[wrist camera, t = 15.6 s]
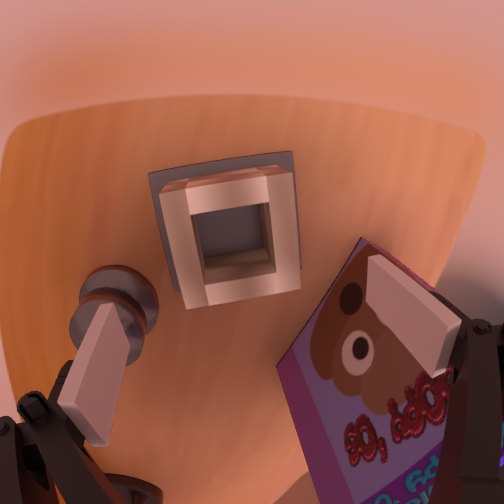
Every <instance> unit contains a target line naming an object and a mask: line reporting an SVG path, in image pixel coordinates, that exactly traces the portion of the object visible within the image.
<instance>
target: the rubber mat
mask: <svg viewBox="0 0 504 504" xmlns="http://www.w3.org/2000/svg"><path fill="white" fill-rule="evenodd" d="M270 165H278V166H280V167H282V168H284V169H286V170H288V171H290V172H292V176H293V187H294V198H295V209H296V222H297V235H298V249H299V264H300V270H302V268H301V251H300V236H299V222H298V209H297V197H296V185H295V174H294V164H293V154H292V151H285V152H276V153H267V154H259V155H251V156H244V157H237V158H230V159H223V160H217V161H211V162H205V163H199V164H193V165H188V166H182V167H177V168H172V169H166V170H161V171H157V172H152V173H149V174H148V176H149V182H150V187H151V192H152V197H153V202H154V206H155V211H156V216H157V220H158V225H159V229H160V234H161V238H162V242H163V247H164V251H165V255H166V259H167V263H168V267H169V271H170V275H171V279H172V282H173V286H174V290H175V292H178V291H181V288H180V284H179V281H178V277H177V273H176V269H175V265H174V261H173V256H172V252H171V248H170V244H169V239H168V235H167V230H166V226H165V221H164V217H163V212H162V207H161V202H160V197H159V193H160V192H161V190H162V189H163V188H164V186H165V185H166V184H167V182H171V181H176V180H181V179H186V178H192V177H197V176H203V175H209V174H215V173H221V172H227V171H234V170H241V169H248V168H255V167H262V166H270ZM196 220H197V225H198V230H199V235H200V240H201V246H202V251H203V256H204V258H210V257H216V256H221V255H227V254H233V253H239V252H245V251H250V250H256V249H262V248H264V241H263V233H262V224H261V216H260V208H259V204H252V205H246V206H240V207H234V208H228V209H222V210H216V211H210V212H204V213H198V214H196Z"/></svg>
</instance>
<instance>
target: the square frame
mask: <svg viewBox="0 0 504 504" xmlns="http://www.w3.org/2000/svg"><path fill="white" fill-rule="evenodd" d="M159 197H160V202H161V207H162V212H163V217H164V221H165V226H166V230H167V235H168V239H169V244H170V248H171V252H172V256H173V261H174V265H175V269H176V273H177V277H178V281H179V284H180V288H181V292H182V296H183V300H184V303H185V307H186V309H192V308H199V307H205V306H211V305H217V304H223V303H228V302H234V301H240V300H245V299H251V298H256V297H262V296H267V295H272V294H277V293H283V292H288V291H293V290H298V289H301V280H300V264H299V249H298V235H297V222H296V209H295V198H294V187H293V176H292V172H290V171H288V170H286V169H284V168H282V167H280V166H278V165H270V166H262V167H255V168H248V169H241V170H234V171H227V172H221V173H215V174H209V175H203V176H197V177H192V178H186V179H181V180H176V181H171V182H167V184H166V185H165V186H164V188H163V189H162V190H161V192H160V193H159ZM252 204H259V208H260V216H261V224H262V233H263V241H264V248H262V249H256V250H250V251H245V252H239V253H233V254H227V255H221V256H216V257H210V258H204V256H203V251H202V246H201V240H200V235H199V230H198V225H197V220H196V214H198V213H204V212H210V211H216V210H222V209H228V208H234V207H240V206H246V205H252Z"/></svg>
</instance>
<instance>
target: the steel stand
mask: <svg viewBox="0 0 504 504" xmlns="http://www.w3.org/2000/svg"><path fill="white" fill-rule="evenodd" d="M107 303H114V306H115V309H116V311H117V314H118V316H119V319H120V322H121V324H122V327H123V329H124V332H125V334H126V336H127V339H128V341H129V344H130V349H129V353H128V357H127V361H126V365H125V366H128V365H130V364H132V363H134V362H135V361H136V360H137V359H138V358H139V356H140V354H141V351H142V347H143V342H144V338H145V335H147V334H148V333H149V332H150V331H151V329H152V328H153V326H154V324H155V322H156V318H157V313H158V299H157V295H156V293H155V291H154V289H153V287H152V286H151V284H150V283H149V282H148V281H147V279H146V278H144V277H143V276H142V275H141V274H139V273H138V272H136V271H134V270H132V269H130V268H127V267H124V266H118V265H109V266H104V267H101V268H99V269H97V270H95V271H94V272H93V273H91V274H90V276H89V277H88V278H87V280H86V281H85V283H84V284H83V286H82V288H81V290H80V295H79V306H78V308H77V309H76V311H75V313H74V315H73V316H72V318H71V321H70V325H69V332H70V336H71V339H72V342H73V343H74V345H75V347H76V348H77V349H78V350H79V348H80V345H81V343H82V341H83V339H84V337H85V335H86V332H87V330H88V328H89V326H90V324H91V322H92V320H93V318H94V316H95V314H96V312H97V310H98V308H99V306H100V305H101V304H107Z"/></svg>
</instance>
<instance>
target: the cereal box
mask: <svg viewBox="0 0 504 504" xmlns="http://www.w3.org/2000/svg"><path fill="white" fill-rule="evenodd" d="M379 254H381V255H382V256H383V257H385V258H386V259H387V260H389V261H390V262H391V263H393V264H394V265H395V266H396V267H398V268H399V269H400V270H402V271H403V272H404V273H405V274H407V275H408V276H409V277H410V278H412V279H413V280H414V281H415V282H417V283H418V284H419V285H420V286H422V287H423V288H424V289H425V290H427V291H434V292H436V293H438V292H437V291H436V290H435V289H434V288H433V287H431V286H430V285H429V284H428V283H426V282H425V281H424V280H423V279H422V278H420V277H419V276H418V275H416V274H415V273H414V272H413V271H411V270H410V269H409V268H408V267H406V266H405V265H404V264H402V263H401V262H400V261H399V260H397V259H396V258H395V257H393V256H392V255H390V254H389V253H387V252H385V251H384V250H382V249H380V248H379V247H377V246H375V245H374V244H372V243H370V242H369V241H367V240H365V239H363V238H362V237H361V238H360V239H359V241H358V243H357V244H356V246H355V248H354V249H353V251H352V253H351V254H350V256H349V258H348V259H347V261H346V263H345V264H344V266H343V268H342V269H341V271H340V272H339V274H338V276H337V277H336V279H335V280H334V282H333V283H332V285H331V287H330V288H329V290H328V291H327V293H326V294H325V296H324V297H323V299H322V301H321V302H320V304H319V305H318V307H317V308H316V310H315V311H314V313H313V314H312V316H311V317H310V319H309V320H308V322H307V323H306V324H305V326H304V327H303V329H302V330H301V332H300V333H299V335H298V336H297V338H296V339H295V340H294V342H293V343H292V345H291V346H290V347H289V349H288V350H287V352H286V353H285V355H284V356H283V357H282V359H281V360H280V361H279V363H278V364H277V366H276V368H277V371H278V374H279V378H280V381H281V384H282V387H283V390H284V393H285V397H286V400H287V403H288V406H289V409H290V412H291V416H292V419H293V422H294V425H295V428H296V431H297V434H298V438H299V441H300V444H301V447H302V450H303V453H304V456H305V459H306V462H307V465H308V469H309V472H310V474H311V478H312V481H313V484H314V487H315V490H316V493H317V496H318V499H319V502H320V504H428V501H429V497H430V494H431V490H432V487H433V483H434V479H435V475H436V471H437V467H438V462H439V458H440V453H441V448H442V443H443V437H444V431H445V425H446V418H447V411H448V403H449V394H450V384H451V381H450V383H449V385H447V382H448V379H449V377H450V374H451V372H452V369H453V367H454V366H453V365H452V364H451V363H450V362H449V363H448V365H447V368H446V371H445V372H444V373H442V374H440V375H438V376H436V377H434V378H431V377H430V375H429V374H428V373H427V372H426V371H425V369H424V368H423V367H422V366H421V365H420V363H419V362H418V361H417V360H416V359H415V357H414V356H413V355H412V354H411V353H410V352H409V350H408V349H407V348H406V347H405V346H404V345H403V343H402V342H401V341H400V340H399V339H398V338H397V336H396V335H395V334H394V333H393V332H392V331H391V329H390V328H389V327H388V326H387V325H386V324H385V323H384V321H383V320H382V319H381V318H380V317H379V316H378V315H377V314H376V312H375V311H374V310H373V309H372V308H371V307H370V306H369V305H368V303H367V302H366V290H367V271H368V257H369V256H374V255H379ZM438 294H440V293H438ZM440 295H441V294H440ZM444 298H445V297H444ZM445 299H446V298H445ZM447 301H448V300H447ZM450 303H451V302H450ZM453 306H454V305H453ZM456 308H457V307H456ZM503 464H504V422H503V418H502V437H501V456H500V467H501V466H502V465H503ZM500 467H499V468H500Z"/></svg>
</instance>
